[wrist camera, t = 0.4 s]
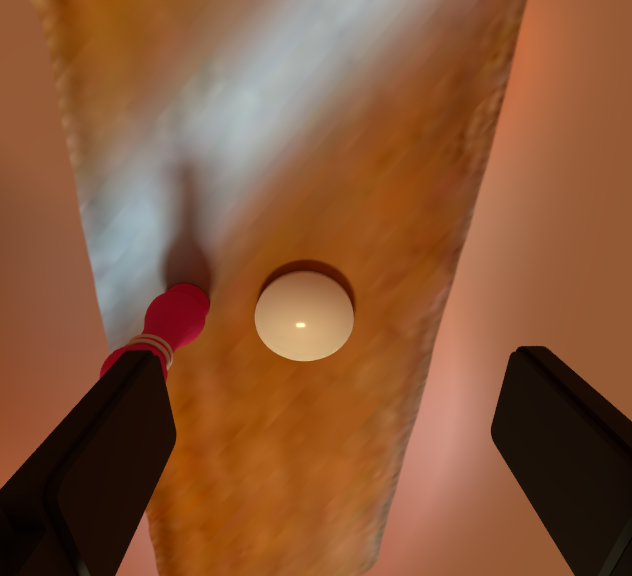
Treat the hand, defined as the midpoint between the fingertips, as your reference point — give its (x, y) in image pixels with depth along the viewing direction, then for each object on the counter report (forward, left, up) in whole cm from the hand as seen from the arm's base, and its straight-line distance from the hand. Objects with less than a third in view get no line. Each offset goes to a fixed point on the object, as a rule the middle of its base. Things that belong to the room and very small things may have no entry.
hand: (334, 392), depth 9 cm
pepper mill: (+12, -21, -36) cm, 44 cm away
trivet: (+17, -5, -36) cm, 40 cm away
